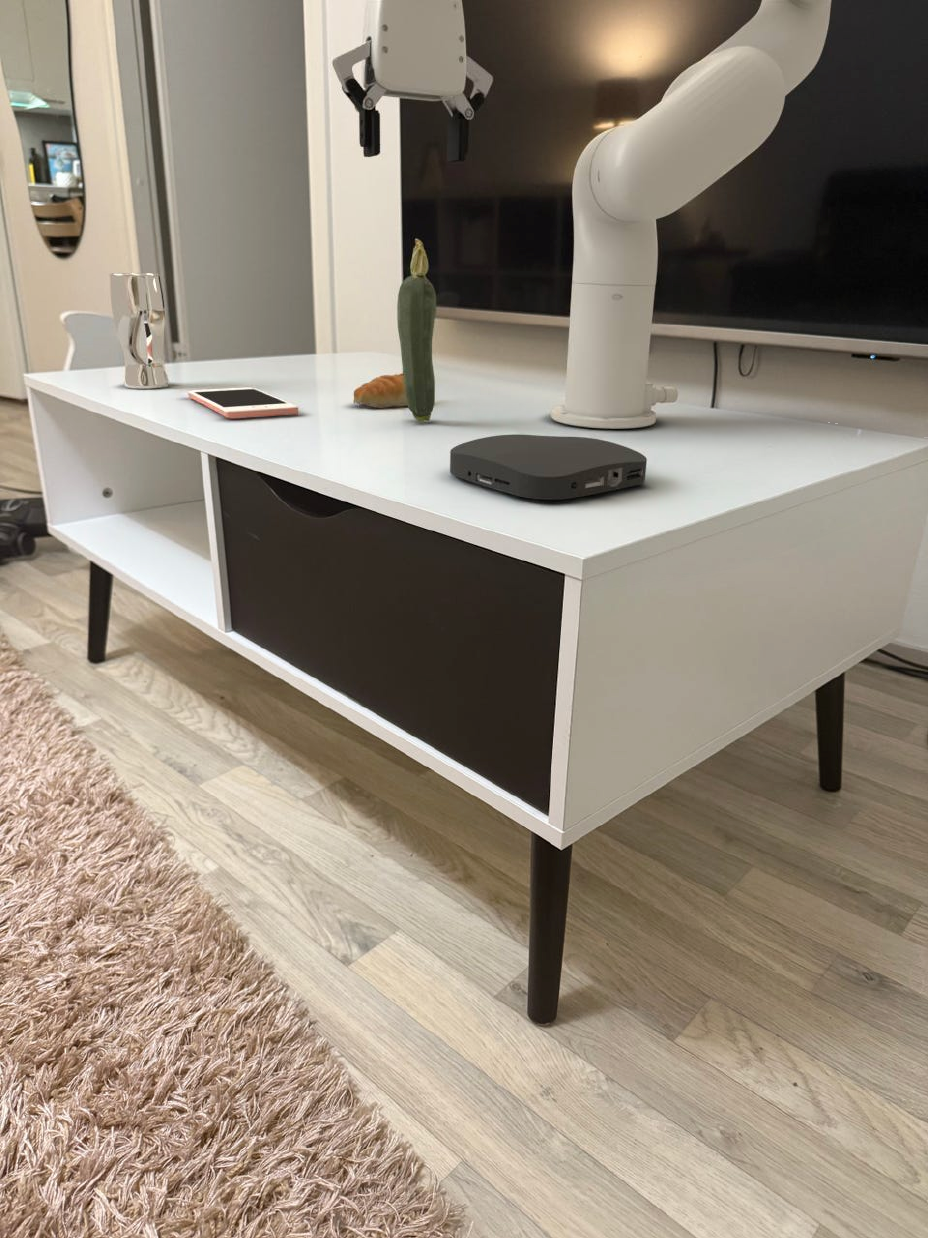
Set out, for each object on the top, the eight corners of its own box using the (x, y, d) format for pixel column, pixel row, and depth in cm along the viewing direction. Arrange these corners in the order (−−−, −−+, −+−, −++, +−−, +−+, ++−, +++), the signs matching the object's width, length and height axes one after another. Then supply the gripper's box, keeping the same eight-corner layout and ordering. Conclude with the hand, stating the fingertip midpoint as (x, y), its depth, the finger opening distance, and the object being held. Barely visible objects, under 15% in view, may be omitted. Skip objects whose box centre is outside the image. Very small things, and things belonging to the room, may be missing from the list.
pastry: (376, 411, 113) (376, 380, 111) (340, 405, 117) (339, 375, 115) (427, 403, 119) (427, 373, 118) (391, 398, 123) (391, 369, 122)
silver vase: (111, 388, 126) (97, 273, 121) (136, 381, 133) (124, 272, 127) (158, 390, 125) (146, 274, 120) (181, 383, 132) (170, 273, 126)
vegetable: (430, 427, 104) (431, 238, 96) (393, 425, 104) (392, 237, 97) (439, 420, 108) (440, 238, 100) (403, 418, 108) (402, 238, 101)
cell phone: (227, 419, 105) (226, 411, 104) (187, 397, 119) (186, 390, 119) (299, 414, 109) (299, 406, 109) (252, 393, 123) (252, 386, 123)
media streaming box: (549, 455, 91) (550, 425, 89) (663, 484, 80) (666, 450, 79) (432, 473, 82) (432, 440, 81) (542, 509, 71) (544, 471, 70)
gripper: (477, -14, 96) (472, 166, 102) (319, -40, 88) (324, 156, 95) (511, -31, 89) (503, 162, 96) (344, -61, 82) (348, 150, 89)
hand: (414, 159), depth 95 cm, fingers open, 9 cm apart
